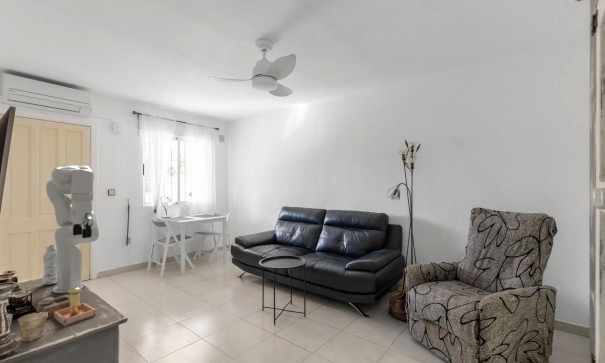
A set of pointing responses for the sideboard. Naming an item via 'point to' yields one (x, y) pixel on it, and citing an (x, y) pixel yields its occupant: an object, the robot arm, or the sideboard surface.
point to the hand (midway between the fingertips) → (82, 236)
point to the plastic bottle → (50, 265)
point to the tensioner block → (53, 304)
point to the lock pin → (74, 300)
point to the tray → (85, 313)
